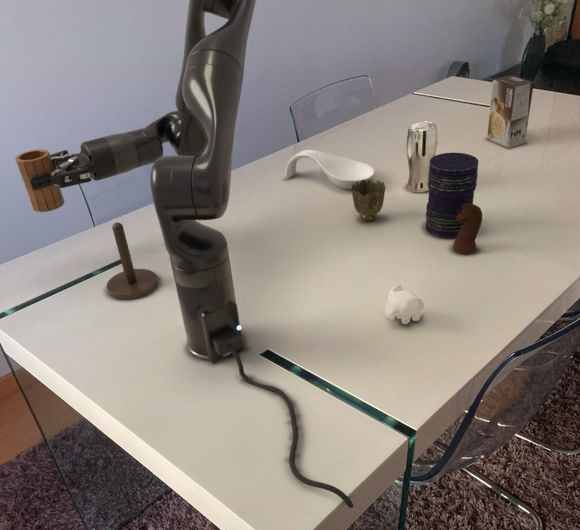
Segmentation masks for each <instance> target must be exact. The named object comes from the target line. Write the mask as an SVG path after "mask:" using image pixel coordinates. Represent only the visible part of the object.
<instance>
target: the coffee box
mask: <svg viewBox="0 0 580 530" xmlns="http://www.w3.org/2000/svg"><path fill="white" fill-rule="evenodd" d="M534 83H535V82H534V81H532V80H528V79H525V78H522V77H519V76H515V75H513V74H510V75H504V76H501V77H498V78H494V79H493V81H492V89H491V98H490V108H489V117H488V124H487V125H488V128H487V135H486V139H487V140H488V141H490V142H493V143H496V144H498V145H500V146H503V147H505V148H507V149H510V148H514V147H517V146H521V145H524V144H526V139H527V133H528V125H529V119H530V112H531V105H532V98H533V91H534Z"/></svg>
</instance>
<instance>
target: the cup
mask: <svg viewBox="0 0 580 530" xmlns="http://www.w3.org/2000/svg"><path fill="white" fill-rule="evenodd" d="M372 181H373V180H372V179H371V180H370V179H369V180H368V182H367V181H366V180H361V182H360V183H359V182H356V185H355V184H353V185H352V189H351V195H352V203H353V207H354V209H355V211H356V212H357V213H358V214H359V217H360V219H361V221H363V222H373V221H374V220H376V219H377V217H378V216H377V215H378V214H379V212H380V211H381V210H382V208H383V205H384V201H385V194H386V193H385V192H386V184H385V182H384V181H380V179H377V180H376V183H375V182H372Z"/></svg>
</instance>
